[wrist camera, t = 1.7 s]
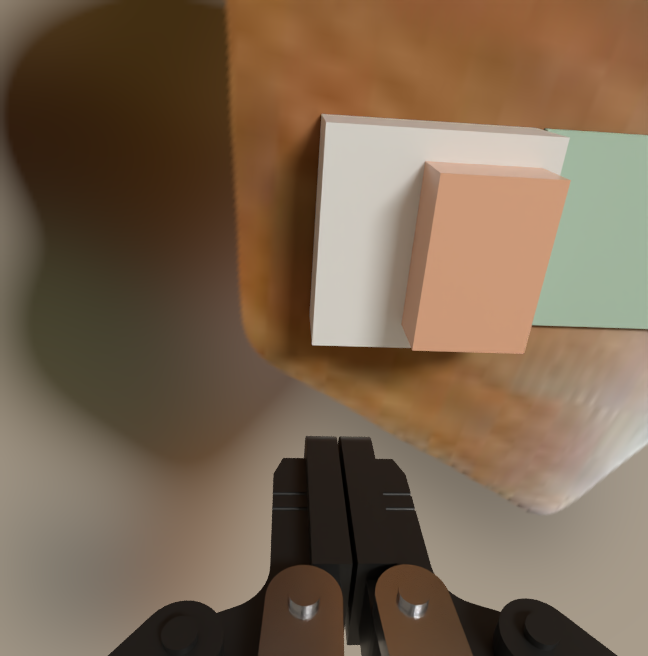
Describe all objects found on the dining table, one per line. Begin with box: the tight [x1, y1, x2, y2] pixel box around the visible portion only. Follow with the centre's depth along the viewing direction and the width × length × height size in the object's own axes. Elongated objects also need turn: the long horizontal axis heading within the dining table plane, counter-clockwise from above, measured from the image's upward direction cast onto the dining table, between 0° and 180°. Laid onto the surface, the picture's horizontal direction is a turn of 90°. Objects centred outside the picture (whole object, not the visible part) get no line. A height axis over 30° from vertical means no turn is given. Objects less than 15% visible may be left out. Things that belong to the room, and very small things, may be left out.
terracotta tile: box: [401, 161, 571, 354], centre depth 27 cm, size 9×6×3 cm, turn 176°
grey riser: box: [310, 114, 570, 348], centre depth 30 cm, size 12×12×4 cm
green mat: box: [532, 129, 648, 329], centre depth 33 cm, size 12×12×1 cm
